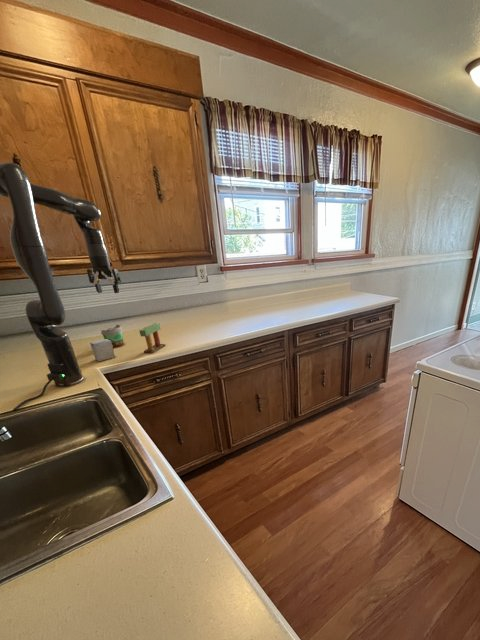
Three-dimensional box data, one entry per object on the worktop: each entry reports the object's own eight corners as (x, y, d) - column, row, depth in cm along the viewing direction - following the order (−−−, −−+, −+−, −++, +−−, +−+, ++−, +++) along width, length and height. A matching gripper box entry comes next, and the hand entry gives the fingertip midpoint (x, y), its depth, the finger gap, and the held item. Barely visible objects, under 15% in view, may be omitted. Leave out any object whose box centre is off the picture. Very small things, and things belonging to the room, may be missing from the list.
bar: (160, 328, 173) (159, 323, 172) (146, 336, 161) (144, 330, 160) (155, 328, 174) (154, 323, 172) (140, 336, 162) (139, 330, 160)
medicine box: (111, 355, 164) (106, 338, 160) (115, 357, 161) (110, 340, 157) (95, 359, 159) (89, 342, 155) (99, 361, 156) (93, 344, 152)
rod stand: (165, 345, 177) (161, 329, 172) (153, 353, 166) (149, 336, 162) (156, 345, 177) (153, 329, 173) (144, 352, 167) (140, 335, 163)
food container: (116, 349, 172) (110, 331, 167) (105, 349, 173) (100, 330, 168) (131, 342, 182) (126, 324, 178) (121, 341, 183) (116, 324, 179)
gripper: (77, 255, 141) (89, 294, 149) (107, 255, 139) (117, 294, 147) (89, 254, 148) (100, 291, 155) (118, 254, 146) (127, 291, 154)
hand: (108, 292), depth 151 cm, fingers open, 8 cm apart
